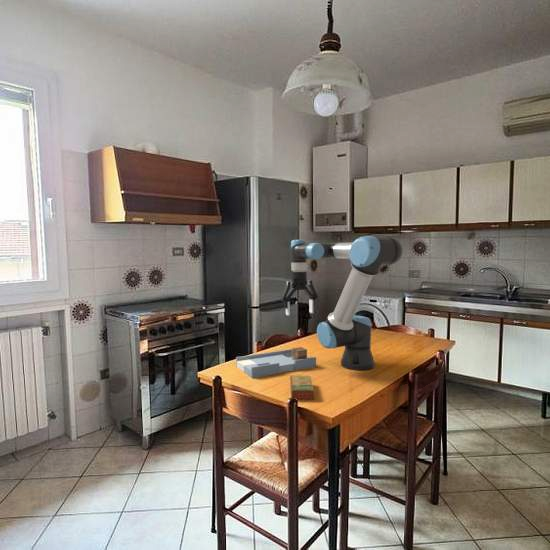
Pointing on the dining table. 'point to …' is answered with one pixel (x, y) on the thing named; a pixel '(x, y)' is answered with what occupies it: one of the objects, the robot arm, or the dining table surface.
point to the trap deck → (272, 363)
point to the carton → (301, 388)
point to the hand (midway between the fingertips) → (299, 313)
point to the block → (299, 353)
